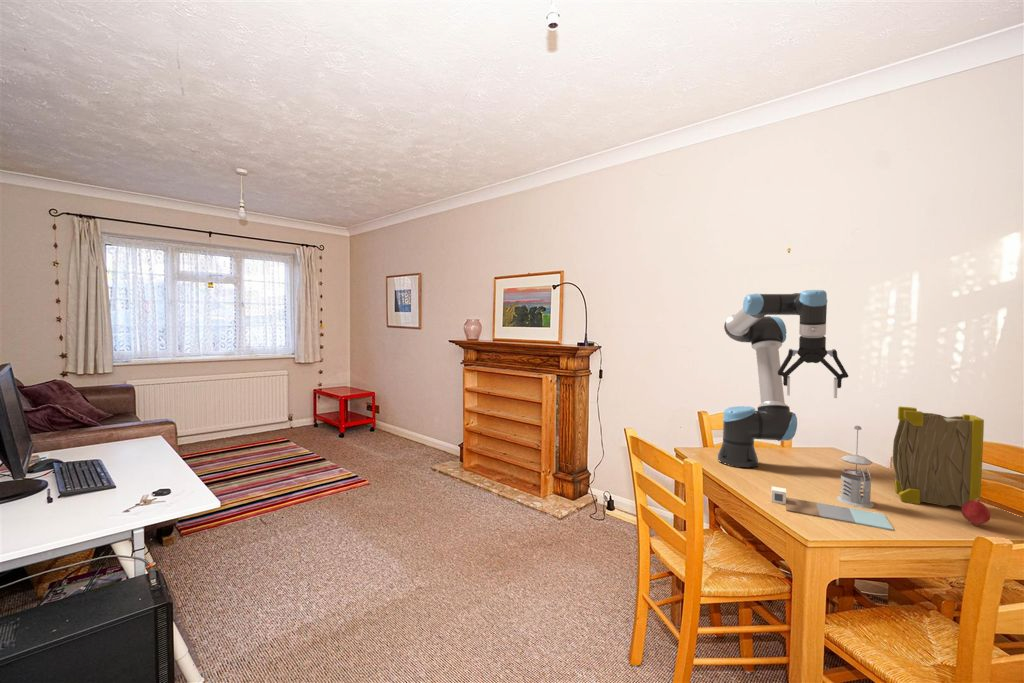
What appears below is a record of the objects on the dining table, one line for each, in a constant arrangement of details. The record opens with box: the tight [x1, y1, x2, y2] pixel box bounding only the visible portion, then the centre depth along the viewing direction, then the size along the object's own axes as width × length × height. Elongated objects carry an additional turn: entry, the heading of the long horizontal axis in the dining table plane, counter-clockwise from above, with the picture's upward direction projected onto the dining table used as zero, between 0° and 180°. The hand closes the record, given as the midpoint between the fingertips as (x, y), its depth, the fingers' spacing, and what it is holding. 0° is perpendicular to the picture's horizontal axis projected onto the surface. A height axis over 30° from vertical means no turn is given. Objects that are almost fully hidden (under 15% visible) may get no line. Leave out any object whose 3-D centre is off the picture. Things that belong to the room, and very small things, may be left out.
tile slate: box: [816, 501, 855, 524], centre depth 136 cm, size 8×12×1 cm
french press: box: [836, 425, 875, 509], centre depth 145 cm, size 10×12×25 cm
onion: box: [961, 498, 992, 527], centre depth 129 cm, size 6×6×8 cm
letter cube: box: [770, 485, 787, 506], centre depth 145 cm, size 4×4×4 cm
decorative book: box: [892, 406, 985, 508], centre depth 146 cm, size 20×11×30 cm, turn 58°
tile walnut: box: [785, 496, 821, 518], centre depth 141 cm, size 8×12×1 cm
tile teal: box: [848, 507, 894, 531], centre depth 132 cm, size 8×12×1 cm
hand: (811, 395), depth 156 cm, fingers open, 13 cm apart
